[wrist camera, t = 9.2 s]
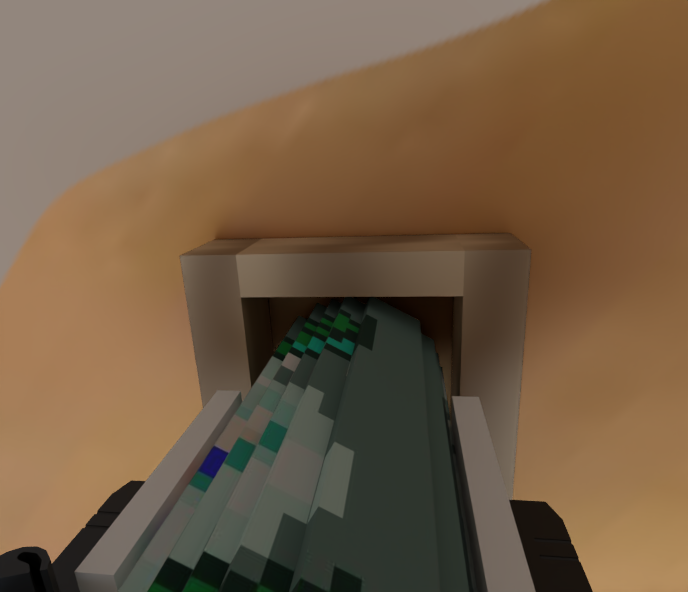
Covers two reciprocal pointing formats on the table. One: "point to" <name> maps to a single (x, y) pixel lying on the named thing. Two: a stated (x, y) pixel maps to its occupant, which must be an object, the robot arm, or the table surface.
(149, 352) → the table surface
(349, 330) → the can
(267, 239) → the rectangular frame
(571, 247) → the table surface
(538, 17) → the table surface
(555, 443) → the table surface
